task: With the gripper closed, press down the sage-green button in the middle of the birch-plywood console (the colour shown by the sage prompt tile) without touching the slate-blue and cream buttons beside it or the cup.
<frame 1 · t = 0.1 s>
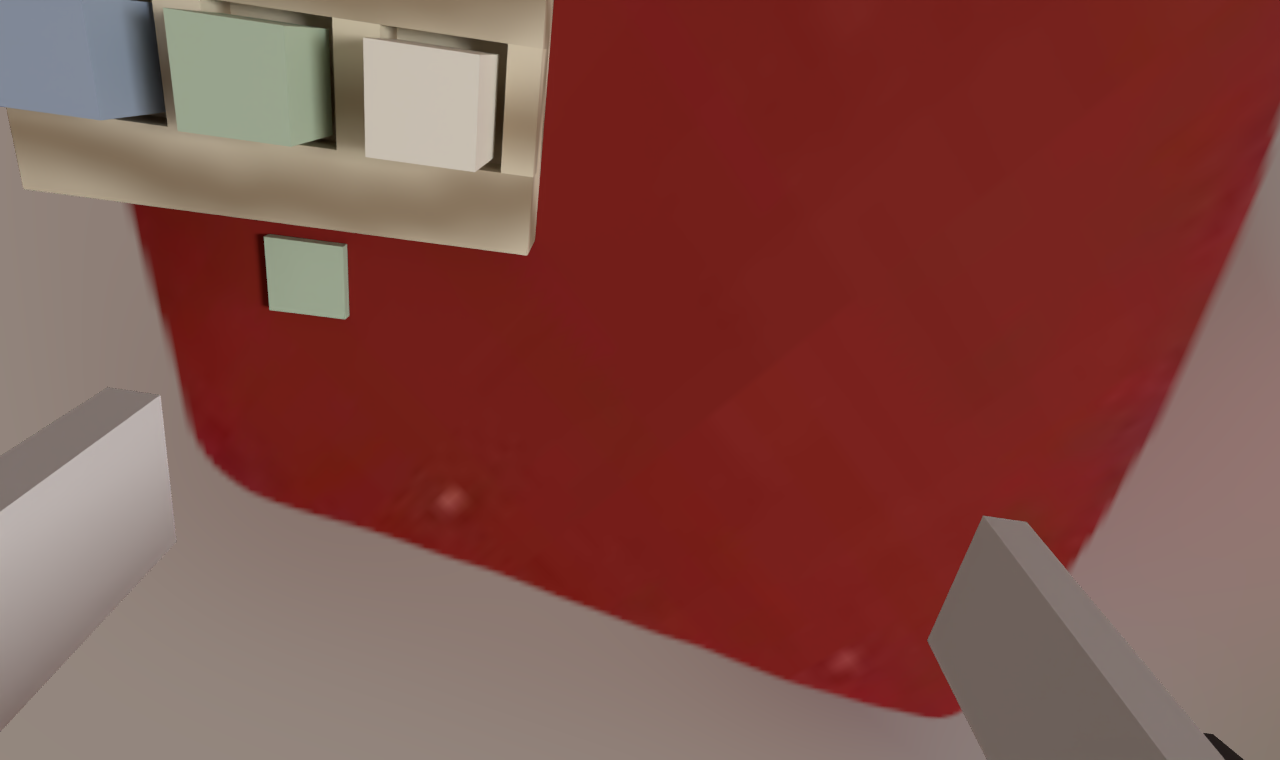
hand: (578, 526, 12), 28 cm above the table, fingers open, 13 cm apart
console: (299, 74, 35), on the table
button sage: (256, 77, 31), point 4 cm above the table, slide at 0.0 cm
button cream: (435, 103, 31), point 4 cm above the table, slide at 0.0 cm
prompt tile: (310, 275, 39), on the table
button blue: (71, 51, 30), point 4 cm above the table, slide at 0.0 cm
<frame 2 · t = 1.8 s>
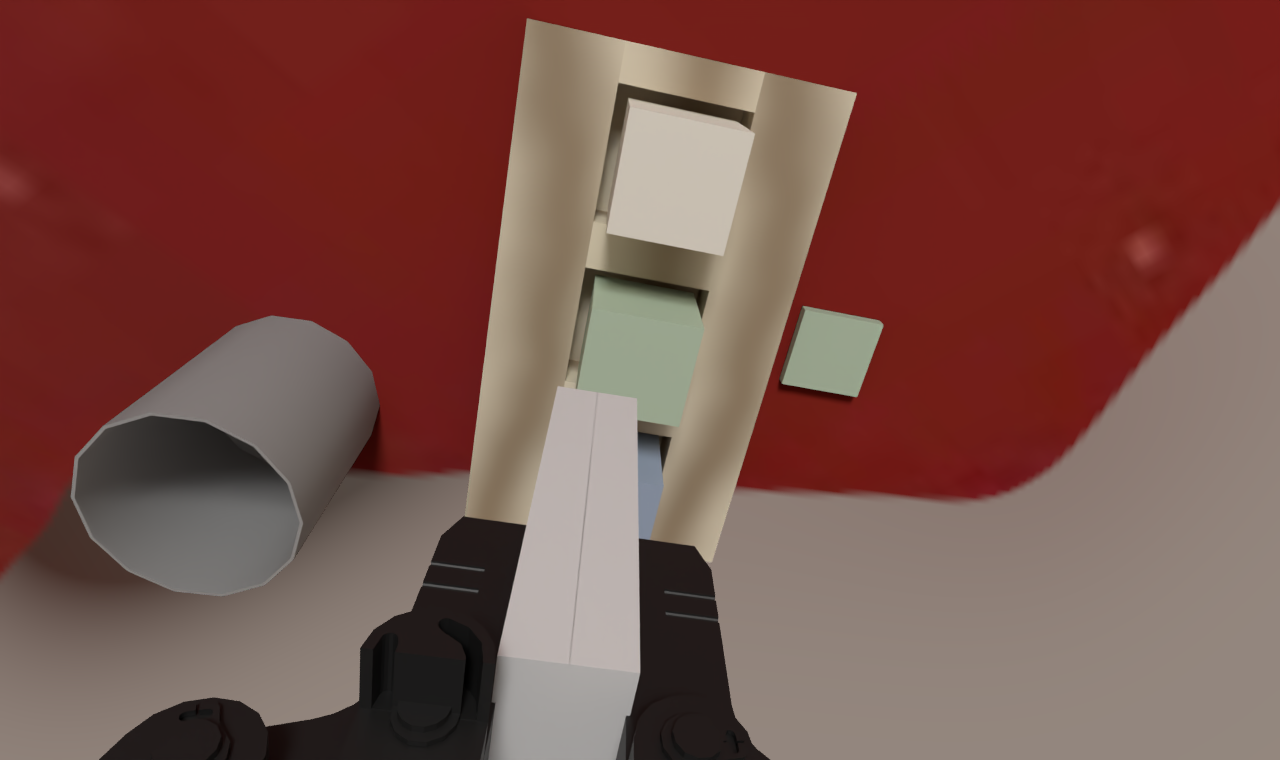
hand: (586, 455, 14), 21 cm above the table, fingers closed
console: (633, 314, 35), on the table
button sage: (636, 348, 31), point 4 cm above the table, slide at 0.0 cm
cup: (296, 392, 37), on the table
button cream: (674, 174, 28), point 4 cm above the table, slide at 0.0 cm
prompt tile: (828, 350, 36), on the table
button blue: (604, 491, 34), point 4 cm above the table, slide at 0.0 cm
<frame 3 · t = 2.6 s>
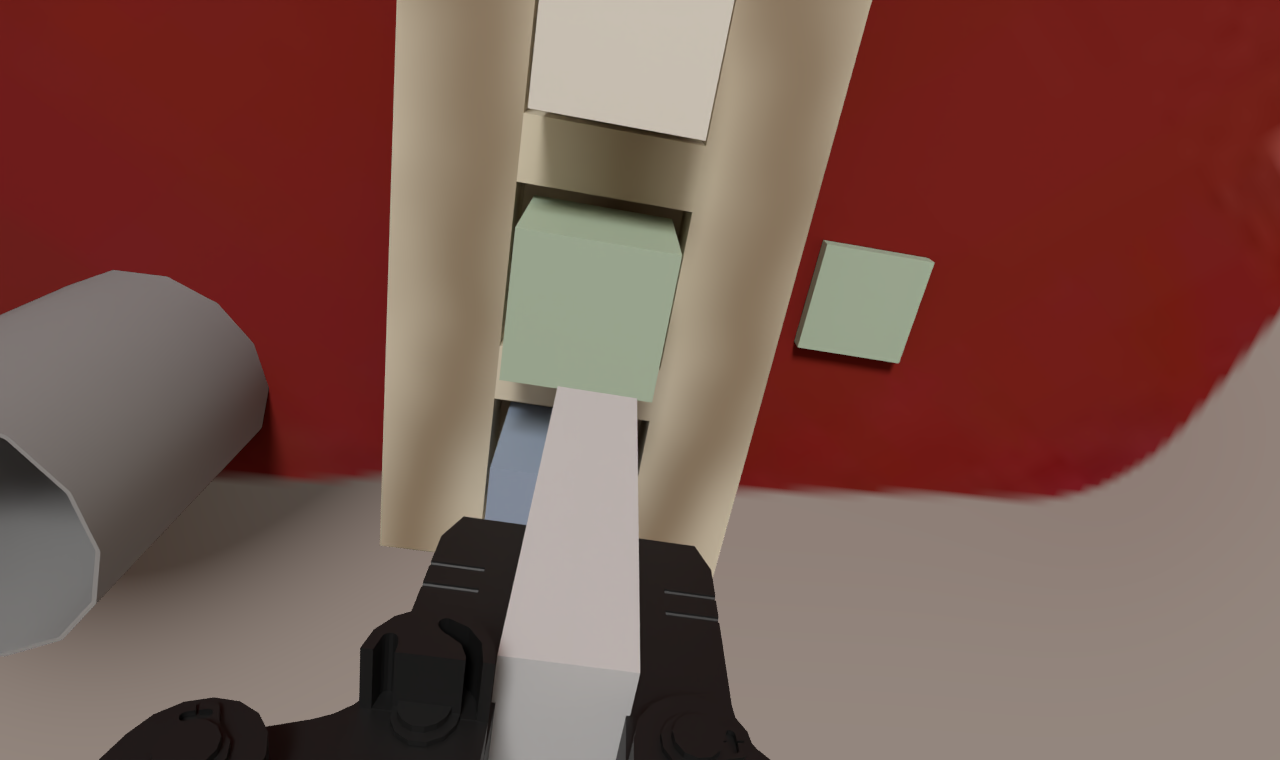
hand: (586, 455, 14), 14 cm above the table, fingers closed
console: (595, 256, 26), on the table
button sage: (590, 294, 22), point 4 cm above the table, slide at 0.0 cm
cup: (159, 373, 28), on the table
button cream: (631, 27, 19), point 4 cm above the table, slide at 0.0 cm
prompt tile: (859, 300, 27), on the table
button blue: (559, 496, 25), point 4 cm above the table, slide at 0.0 cm
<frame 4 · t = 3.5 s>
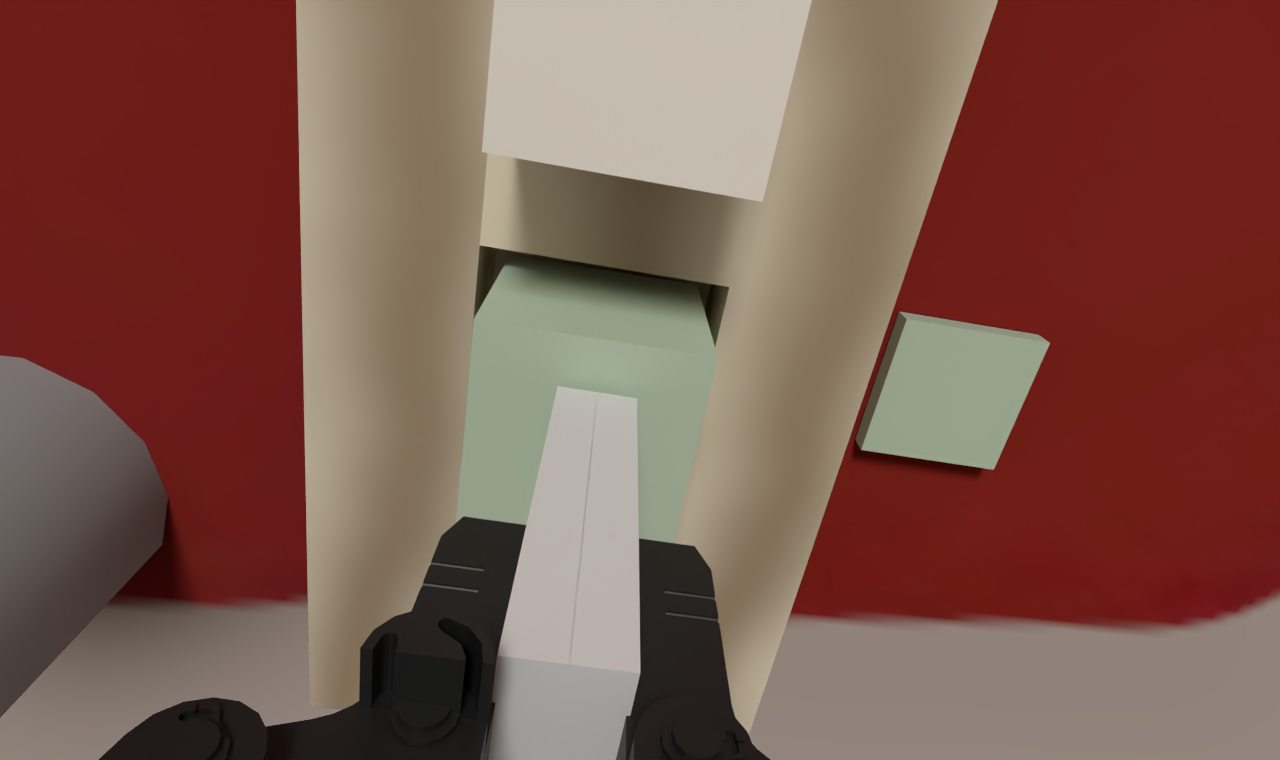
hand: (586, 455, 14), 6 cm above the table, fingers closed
console: (593, 333, 20), on the table
button sage: (586, 394, 16), point 4 cm above the table, slide at -0.6 cm, touching gripper
cup: (25, 478, 21), on the table
button cream: (646, 25, 13), point 4 cm above the table, slide at 0.0 cm
prompt tile: (943, 388, 20), on the table
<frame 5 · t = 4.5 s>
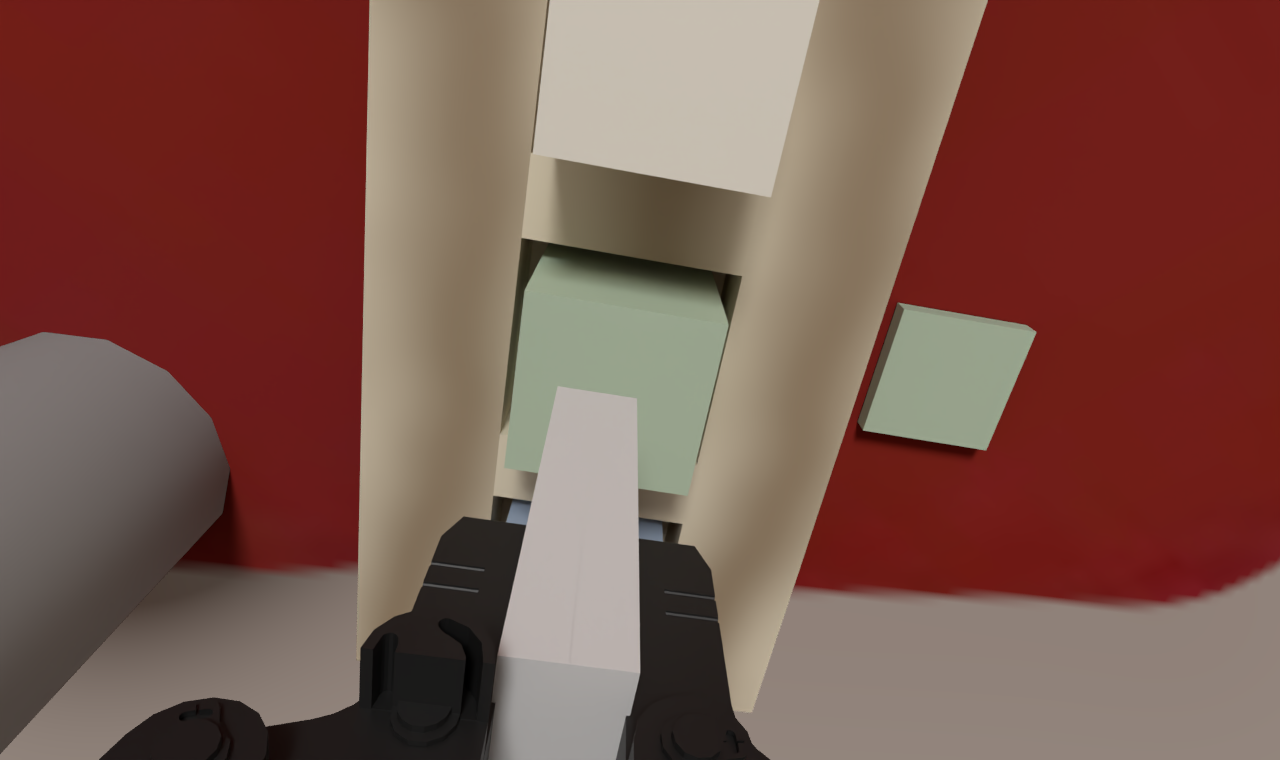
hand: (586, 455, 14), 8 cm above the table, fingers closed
console: (618, 320, 22), on the table
button sage: (614, 361, 19), point 3 cm above the table, slide at -1.2 cm
cup: (102, 450, 24), on the table
button cream: (672, 46, 15), point 4 cm above the table, slide at 0.0 cm
prompt tile: (939, 374, 22), on the table
button blue: (571, 616, 21), point 4 cm above the table, slide at 0.0 cm
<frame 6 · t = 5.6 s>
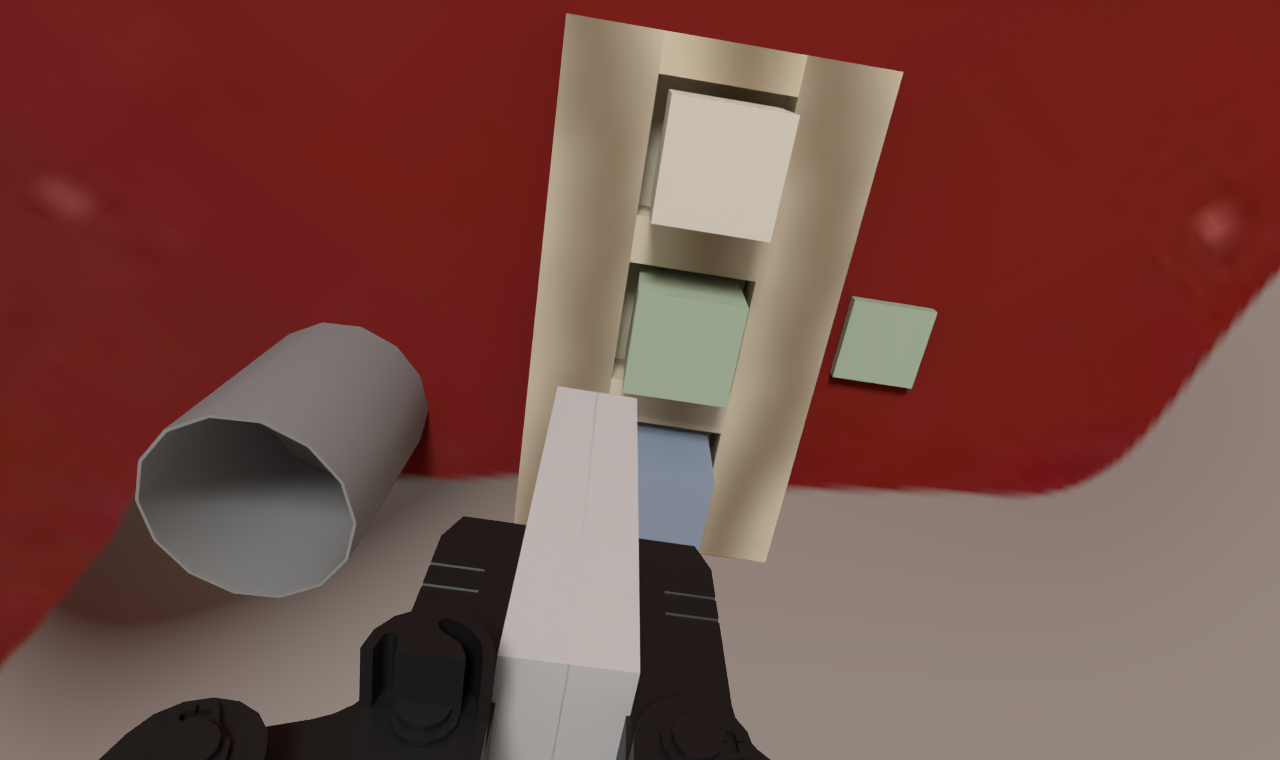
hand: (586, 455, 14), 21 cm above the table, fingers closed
console: (679, 310, 35), on the table
button sage: (681, 333, 32), point 3 cm above the table, slide at -1.2 cm
cup: (347, 398, 37), on the table
button cream: (717, 162, 28), point 4 cm above the table, slide at 0.0 cm
prompt tile: (880, 341, 35), on the table
button blue: (654, 490, 34), point 4 cm above the table, slide at 0.0 cm
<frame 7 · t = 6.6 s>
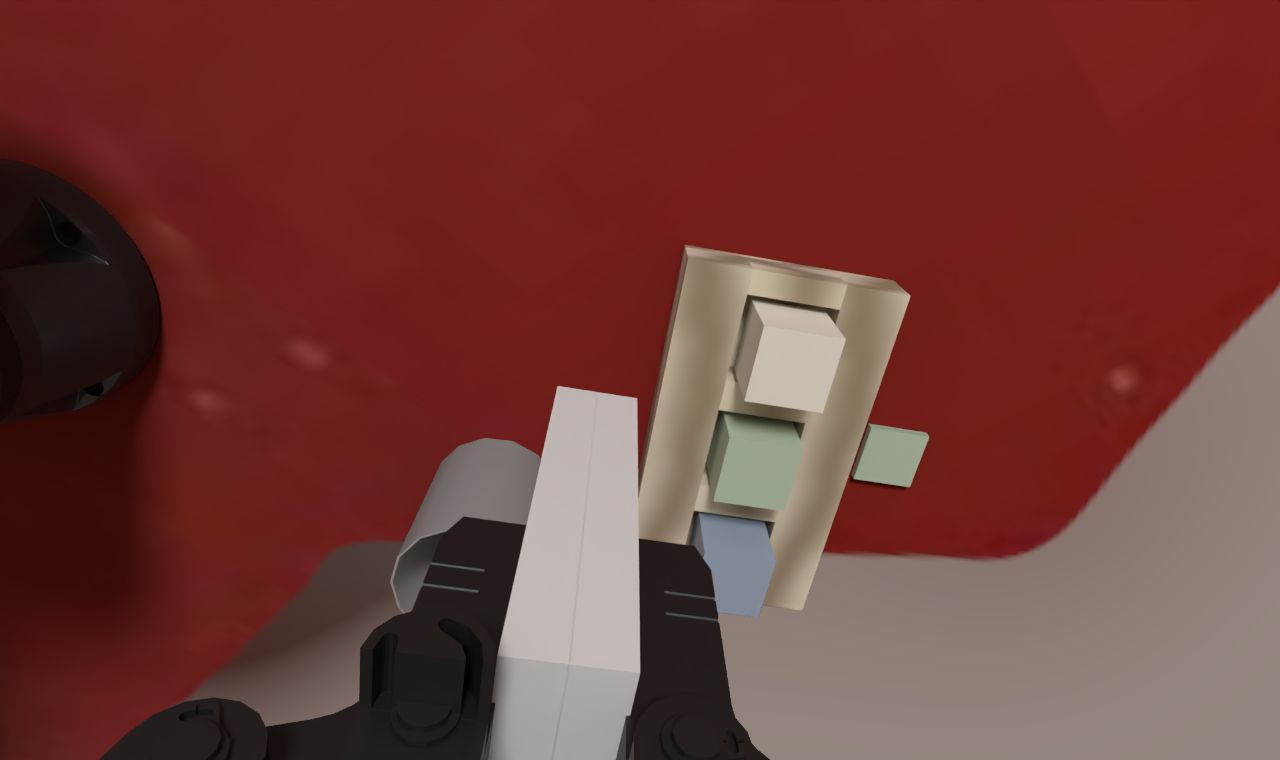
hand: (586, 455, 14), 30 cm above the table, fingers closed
console: (745, 431, 48), on the table
button sage: (752, 456, 45), point 3 cm above the table, slide at -1.2 cm
cup: (496, 489, 50), on the table
button cream: (786, 354, 41), point 4 cm above the table, slide at 0.0 cm
prompt tile: (888, 453, 49), on the table
button blue: (727, 562, 47), point 4 cm above the table, slide at 0.0 cm
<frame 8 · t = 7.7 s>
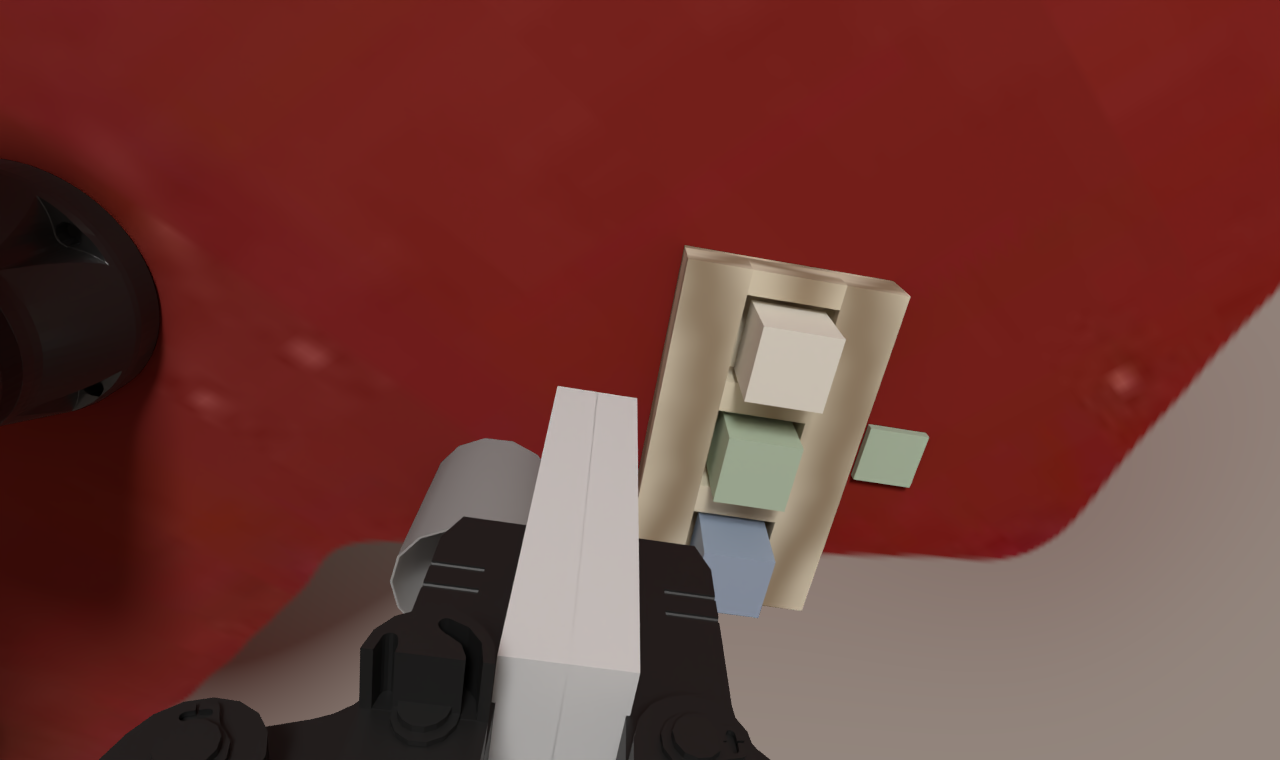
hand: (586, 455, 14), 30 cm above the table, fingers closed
console: (744, 432, 48), on the table
button sage: (752, 456, 45), point 3 cm above the table, slide at -1.2 cm
cup: (496, 489, 50), on the table
button cream: (786, 355, 41), point 4 cm above the table, slide at 0.0 cm
prompt tile: (887, 454, 49), on the table
button blue: (727, 563, 47), point 4 cm above the table, slide at 0.0 cm
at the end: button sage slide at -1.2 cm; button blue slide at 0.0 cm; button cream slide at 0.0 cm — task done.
